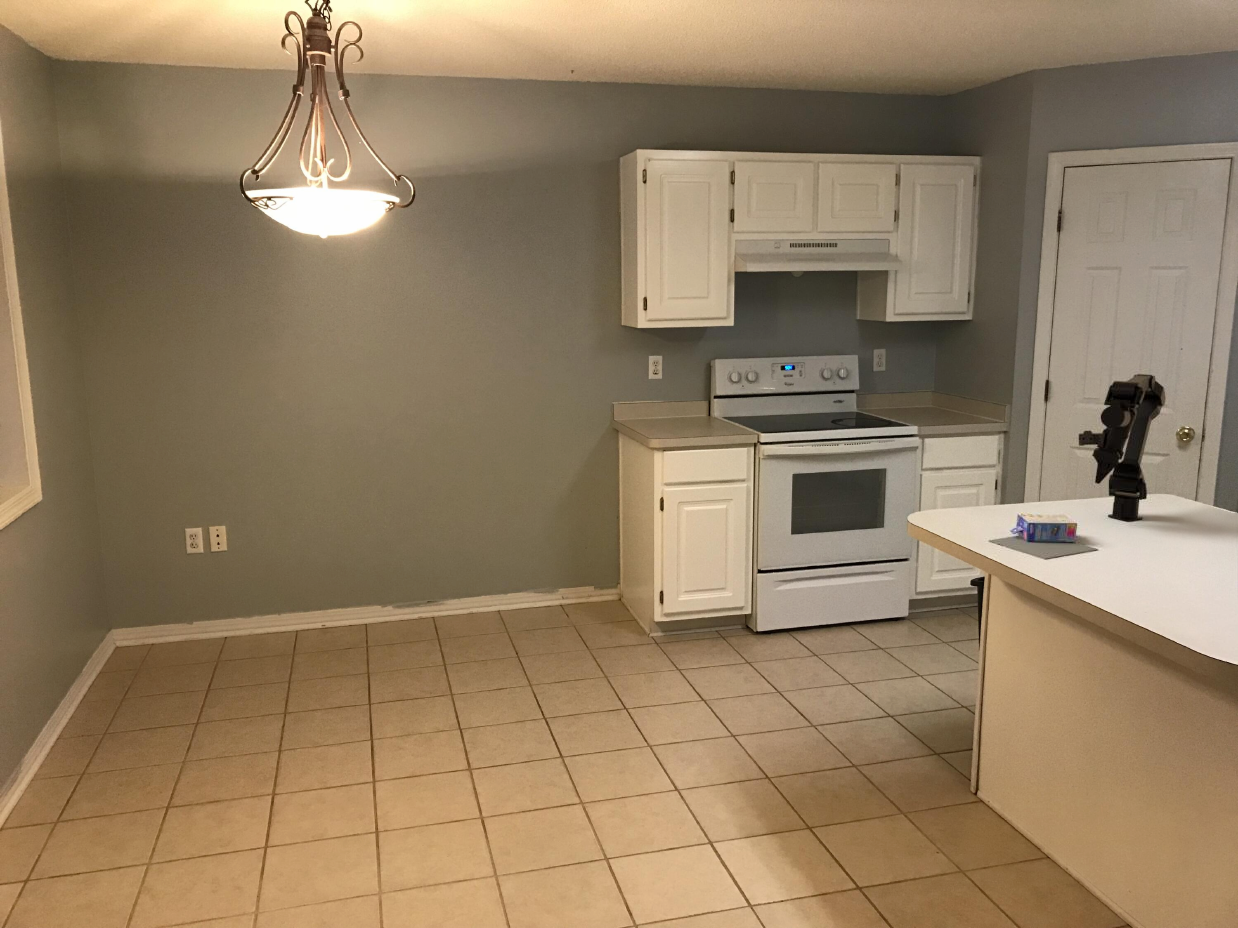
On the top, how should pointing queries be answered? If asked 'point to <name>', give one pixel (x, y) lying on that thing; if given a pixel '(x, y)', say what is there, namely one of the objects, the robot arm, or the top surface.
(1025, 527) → the ink cartridge box
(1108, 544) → the top surface
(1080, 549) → the mat
